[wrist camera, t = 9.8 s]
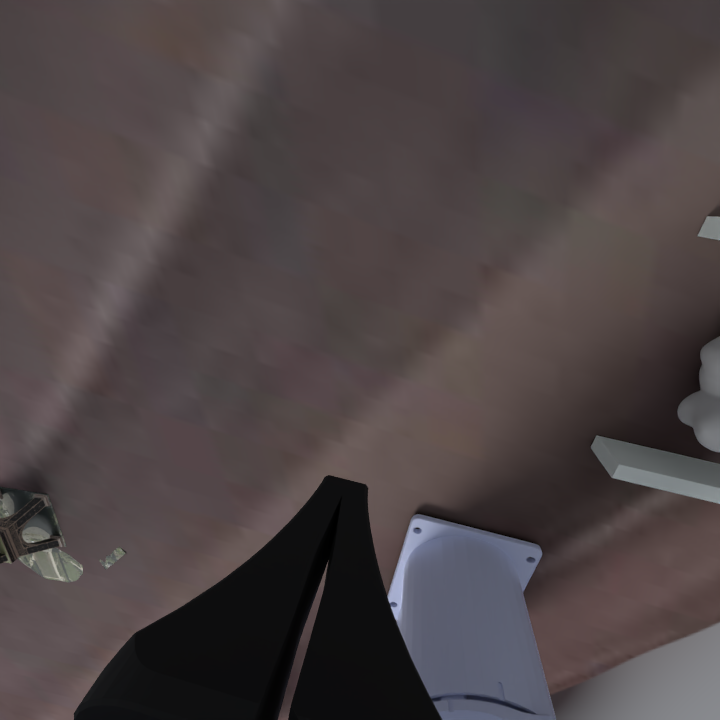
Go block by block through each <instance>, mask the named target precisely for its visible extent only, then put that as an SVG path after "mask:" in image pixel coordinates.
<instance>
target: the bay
mask: <svg viewBox="0 0 720 720" xmlns="http://www.w3.org/2000/svg"><path fill="white" fill-rule="evenodd" d="M698 236H699V237H704V238H709V239H715V240H720V217H715V216H707V218H706V220H705V222H704V224H703V226H702V228H701V230H700V232H699V234H698ZM590 448H591V449H592V451H593V452H594V453H595V455H596V456H597V458H598V459H599V461H600V462H601V463H602V465H603V466H604V468H605V469H606V470H607V472H608V473H609V475H610V476H611V477H612V478H615V479H619V480H623V481H627V482H631V483H635V484H640V485H644V486H648V487H652V488H656V489H660V490H665V491H669V492H673V493H677V494H681V495H685V496H690V497H694V498H698V499H702V500H706V501H711V502H715V503H719V504H720V464H718V463H714V462H710V461H705V460H701V459H697V458H692V457H688V456H684V455H679V454H675V453H671V452H667V451H662V450H658V449H654V448H649V447H645V446H641V445H636V444H632V443H628V442H624V441H619V440H615V439H611V438H606V437H602V436H598V435H596V437H595V439H594V441H593V443H592V445H591V447H590Z"/></svg>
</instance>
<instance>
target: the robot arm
mask: <svg viewBox="0 0 720 720" xmlns="http://www.w3.org/2000/svg"><path fill="white" fill-rule="evenodd" d="M416 527H418V528H420V529H416ZM528 557H531V558H528ZM541 557H542V551H541V548H540V546H539V545H537V544H534V543H530V542H526V541H523V540H519V539H515V538H511V537H507V536H503V535H499V534H495V533H491V532H488V531H484V530H480V529H476V528H472V527H468V526H464V525H460V524H456V523H452V522H449V521H445V520H441V519H437V518H433V517H429V516H425V515H421V514H416V515H414V516H413V517H412V518H411V521H410V525H409V528H408V531H407V534H406V538H405V541H404V544H403V547H402V551H401V554H400V557H399V560H398V564H397V567H396V570H395V573H394V577H393V580H392V583H391V586H390V589H389V593H388V596H387V594H386V591H385V588H384V585H383V581H382V578H381V574H380V571H379V567H378V563H377V559H376V554H375V550H374V545H373V540H372V534H371V529H370V522H369V513H368V487H367V486H366V484H362V483H358V482H354V481H350V480H346V479H342V478H338V477H334V476H330V475H328V476H326V477H325V478H324V479H323V481H322V483H321V484H320V486H319V487H318V489H317V490H316V491H315V493H314V494H313V495H312V496H311V498H310V499H309V500H308V501H307V503H306V504H305V505H304V506H303V507H302V508H301V509H300V511H299V512H298V513H297V514H296V515H295V516H294V517H293V519H292V520H291V521H290V522H289V523H288V524H287V525H286V526H285V527H284V528H283V529H282V530H281V531H280V532H279V533H278V534H277V535H276V536H275V537H274V538H273V539H272V540H270V541H269V542H268V543H267V544H266V545H265V546H264V547H263V548H262V549H261V550H259V551H258V552H257V553H256V554H255V555H253V556H252V557H251V558H250V559H249V560H247V561H246V562H245V563H244V564H242V565H241V566H240V567H238V568H237V569H236V570H235V571H233V572H232V573H231V574H229V575H228V576H227V577H225V578H224V579H223V580H221V581H220V582H218V583H217V584H216V585H214V586H213V587H211V588H210V589H208V590H206V591H205V592H203V593H202V594H200V595H199V596H197V597H196V598H194V599H193V600H191V601H190V602H188V603H187V604H185V605H183V606H182V607H180V608H178V609H177V610H175V611H173V612H172V613H170V614H168V615H166V616H164V617H163V618H161V619H159V620H157V621H156V622H154V623H152V624H150V625H148V626H147V627H145V628H143V629H141V630H139V631H138V632H136V633H135V634H134V635H133V636H132V637H131V638H130V639H129V640H128V641H127V642H126V644H125V645H124V646H123V647H122V648H121V649H120V650H119V652H118V653H117V654H116V655H115V656H114V658H113V659H112V660H111V661H110V662H109V663H108V665H107V666H106V667H105V669H104V670H103V671H102V672H101V674H100V675H99V677H98V678H97V680H96V681H95V683H94V684H93V686H92V687H91V689H90V690H89V691H88V693H87V694H86V696H85V697H84V699H83V700H82V702H81V703H80V705H79V706H78V708H77V709H76V711H75V713H74V720H278V716H279V712H280V709H281V705H282V701H283V698H284V694H285V691H286V687H287V683H288V680H289V676H290V672H291V669H292V665H293V662H294V658H295V654H296V651H297V647H298V644H299V641H300V638H301V635H302V632H303V629H304V626H305V623H306V620H307V618H308V615H309V612H310V609H311V607H312V604H313V601H314V598H315V596H316V593H317V590H318V587H319V585H320V582H321V579H322V576H323V574H324V571H325V568H326V565H327V562H328V567H327V573H326V579H325V585H324V591H323V595H322V598H321V602H320V605H319V609H318V613H317V616H316V620H315V623H314V627H313V631H312V634H311V638H310V641H309V645H308V648H307V652H306V655H305V659H304V662H303V666H302V669H301V673H300V676H299V680H298V683H297V687H296V690H295V694H294V697H293V700H292V704H291V708H290V713H289V718H288V720H556V717H555V714H554V710H553V706H552V702H551V698H550V694H549V690H548V686H547V683H546V679H545V675H544V671H543V667H542V664H541V660H540V656H539V652H538V648H537V644H536V641H535V637H534V633H533V629H532V625H531V622H530V618H529V614H528V610H527V606H526V602H525V599H524V595H523V592H524V590H525V588H526V586H527V584H528V582H529V580H530V578H531V576H532V574H533V572H534V570H535V568H536V566H537V564H538V563H539V561H540V559H541ZM328 560H329V561H328ZM396 620H397V622H396Z"/></svg>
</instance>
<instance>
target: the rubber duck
mask: <svg viewBox="0 0 720 720" xmlns="http://www.w3.org/2000/svg"><path fill="white" fill-rule="evenodd" d="M700 356H701V361H702V366H701V368H700V371H699V382H700V391H698V392H695V393H693V394H691V395H689V396H688V397H686V398H685V399H684V400H683V401H682V402H681V403H680V405H679V406H678V410H677V413H678V417H679V419H680V420H681V422H683V423H684V424H686V425H689V426H691V427H693V429H694V433H695V436H696V438H697V440H698V441H699V443H700V444H702V445H703V446H704V447H706V448H708V449H709V450H711V451H715V452H720V336H719V337H717V338H715V339H714V340H712V341H710V342H709V343H707V344H706V345H705V346H704V347H703V348H702V349H701V352H700Z"/></svg>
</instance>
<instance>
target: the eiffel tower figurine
mask: <svg viewBox="0 0 720 720" xmlns="http://www.w3.org/2000/svg"><path fill="white" fill-rule="evenodd" d="M0 517H1V518H0V564H1V563H4V562H7V563H13V562H14V561H15V560H16V559H18V560H20V561H21V562H22V563H24V564H25V565H26V566H28V567H29V568H31V569H32V570H33V571H35V572H36V573H37V574H39V575H40V576H42V577H43V578H45V579H51V580H60V581H65V582H71V581H76V580H78V579H79V577H80V575H83V566H82V565H81V564H79V563H78V562H77V561H76V560H74V559H73V558H72V557H71V556H69V555H68V554H66V553H65V552H63V551H61V550H59V549H57V548H55V547H59V546H60V547H64V546H65V547H67V546H66V543H65V541H64V538H63V535H62V532H61V529H60V527H59V524H58V521H57V518H56V515H55V513H54V510H53V507H52V504H51V501H50V499H49V496H48V494H43V493H37V492H30V491H24V490H17V489H11V488H4V487H0ZM124 554H126V553H125V552H124V551H123V550H122V549H121V548H120V547H118V548H117V549H116V550H114V551H113V552H112V554H111V556H106V562H104V561H101V560H99V561H100V562H101V564H102V565H103V566H104V568H105V569H107V568H109V567H110V566H111V565H112V564H113V563H115V562H116V561H117V560H118V559H119V558H121V557H122V556H123V555H124Z"/></svg>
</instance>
